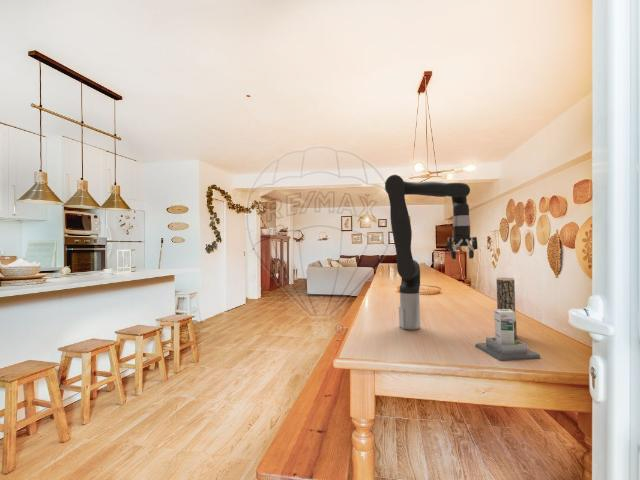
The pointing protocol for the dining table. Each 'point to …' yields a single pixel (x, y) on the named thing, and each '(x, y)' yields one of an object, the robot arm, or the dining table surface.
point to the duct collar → (507, 350)
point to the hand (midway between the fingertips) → (462, 258)
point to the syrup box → (505, 326)
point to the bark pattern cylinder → (505, 293)
